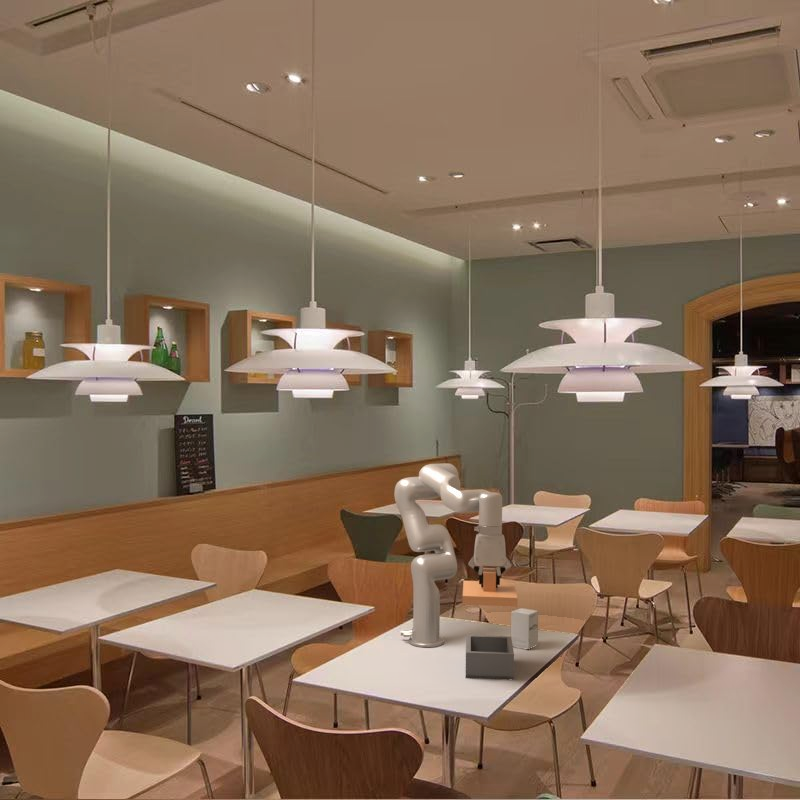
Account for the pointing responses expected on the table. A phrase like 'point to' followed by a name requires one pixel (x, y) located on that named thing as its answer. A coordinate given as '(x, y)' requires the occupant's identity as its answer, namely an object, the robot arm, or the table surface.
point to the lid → (489, 591)
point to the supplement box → (524, 628)
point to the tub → (489, 657)
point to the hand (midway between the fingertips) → (489, 586)
